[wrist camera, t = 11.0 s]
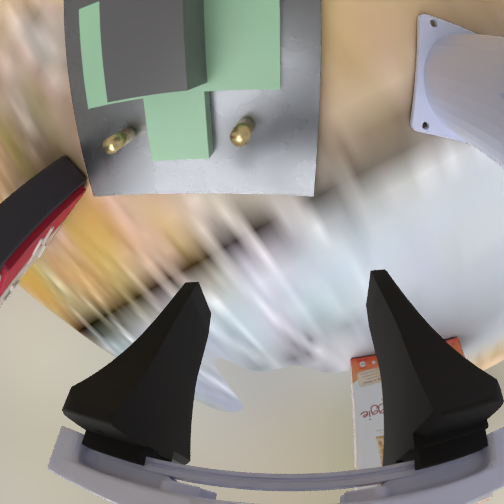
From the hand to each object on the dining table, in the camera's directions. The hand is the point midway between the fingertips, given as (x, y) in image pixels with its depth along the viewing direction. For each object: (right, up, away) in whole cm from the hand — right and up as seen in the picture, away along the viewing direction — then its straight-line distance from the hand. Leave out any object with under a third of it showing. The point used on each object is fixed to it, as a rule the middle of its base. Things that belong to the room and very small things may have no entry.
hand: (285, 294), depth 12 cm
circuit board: (-6, +14, +1) cm, 15 cm away
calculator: (-19, +6, +10) cm, 22 cm away
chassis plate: (-6, +14, +2) cm, 15 cm away
